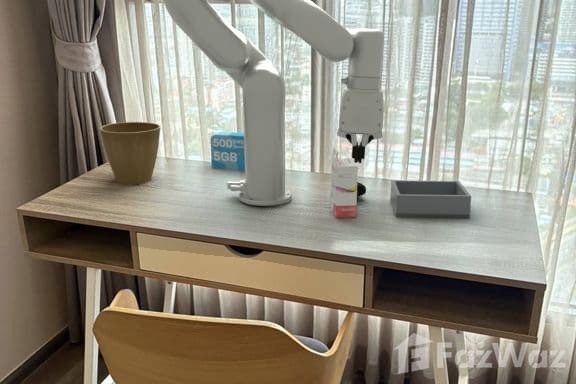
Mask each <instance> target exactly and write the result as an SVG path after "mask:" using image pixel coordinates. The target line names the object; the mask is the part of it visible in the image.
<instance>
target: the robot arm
mask: <svg viewBox="0 0 576 384" xmlns="http://www.w3.org/2000/svg"><path fill="white" fill-rule="evenodd" d="M247 1H248V2H249V3H251V4H252V5H253V6H255V7H256V8H257V9H258V10H260V11H261V12H262V13H263V14H264V15H266V16H267V17H268V18H269V19H271V20H272V21H273V22H275V23H276V24H278V25H280V26H281V27H283V28H285V29H286V30H289V31H290V32H291V33H293V34H294V35H296V36H297V37H299V38H300V39H301V40H302V41H303V42H304V43H306V44H308V46H310V47H311V48H312V49H313V50H314V51H317V54H318V55H319V56H321V57H322V58H323V59H326V60H327V61H329V62H332V63H340V62H344V61H345V60H347V59H348V66H347V76H346V77H341V79H340V84H341V85H345V86H346V88H344V89H343V91H342V94H341V99H340V100H341V102H340V106H339V117H338V129H337V130H336V131H337V132H336V135H337V137H340V138H343V139H347V141H348V142H349V143H350V144H351V146H352V147H351V158H352V159H353V161H354V162H355V163H356V164H357V163H359V164H362V160H365V157H366V156H365V155H366V147H367V145H369V144H370V143H371V142H372V141H375V140H380V139H383V127H384V115H385V114H384V111H385V107H384V103H385V102H384V91H383V90H380V89H381V88H380V87H381V78H382V77H381V75H382V66H383V65H382V64H383V51H384V37H385V35H384V32H383V31H382V30H381V29H376V28H355V29H353V28H352V29H351V28H346V27H344V26H343V25H342V24H341V23H340V22H339V21H337V20H336V19H335V18H333V17H332V16H331V15H330V14H328V13H327V12H326V11H325V10H323V9H322V8H321V7H319V6H318V5H317V4H315V3H314V1H312V0H247ZM162 2H163V3H164V6H165V9H166V11H167V13H168V14H169V16H170V17H171V19H172V20H173V22H174V23H175V24H176V25H177V27H178V28H179V29H180V30H181V31H182V32H184V33H183V34H185V35H186V36H187V37H188V38H189V39H190V40H191V41H192V43H194V45H195V46H196V47H197V48H199V50H200V51H201V52H202V53H203V54H204V55H205V56H206V57H207V58H208V59H209V60H210V61H211V63H212V64H213V65H214V66H215V67H216V68H217V69H218V70H220V71H221V72H225V73H226V74H227V75H228V76H229V77H230V79H232V80H233V82H234V83H236V84H237V86H239V87H240V88H241V89H242V91H241V92H242V109H243V110H242V111H243V113H242V114H243V133H244V148H245V171H244V177H245V178H244V179H243V180H242V179H241V180H240V181H234V180H233V181H232V180H231V181H230V180H228V181H227V183H226V188H227V190H230V191H231V192H237V191H239V192H240V193H239V194H238V195H239V196H238V199H239V201H240V202H242V203H244V204H246V205H251V206H259V207H261V206H263V207H264V206H265V207H267V206H268V207H269V206H278V205H283V204H285V203H288V202H290V201H291V200H292V195H293V194H292V192H291V191H290V190H288V189H286V133H285V132H286V129H285V127H286V123H285V122H286V121H285V119H286V118H285V117H286V115H285V114H286V113H285V112H286V83H285V79H284V76H283V75H282V73H281V71H280V70H279V68H277V67H276V66H275V65H274V64H273V62H272V61H270V60H269V59H268V57H267V56H266V55H265V54H264V53H263V52H262V51H261V50H260V49H259V48H258V47H257V46H256V45H255V44H254V43H253V42H252V41H251V40H250V39H249V38H248V37H247V36H246V34H244V33H242V32H241V31H239V30H237V29H235V28H234V27H233V26H232V25H231V24H230V23H229V22H228V21H227V20H226V19H225V18H224V17H223V15H221V14H220V13H219V11H217V9H216V8H215V7H214V6H213V5H212V4H211V3H210V2H209V1H208V0H163V1H162ZM357 135H362V138H361V140H360V142H359V143H358V141H357V139H358V138H357Z"/></svg>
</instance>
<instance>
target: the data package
mask: <svg viewBox="0 0 576 384" xmlns="http://www.w3.org/2000/svg"><path fill="white" fill-rule="evenodd" d="M210 159H211V160H210V161H211V164H210V165H211V168H212V169H213V168H214V169H222V170H230V171H231V170H234V171H240V172H241V171H242V172H245V148H244V132H234V131H233V132H232V131H219V132H216V133H215V134H212V136H211V137H210Z"/></svg>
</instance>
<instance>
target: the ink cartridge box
mask: <svg viewBox="0 0 576 384" xmlns="http://www.w3.org/2000/svg"><path fill="white" fill-rule="evenodd" d="M331 153H332V154H331V161H330V162H331V164H330V166H331V168H330V199H329V200H330V202H329V203H330V205H329V206H330V209H331V211H332V213H333V215H334V217H335V218H336V219H337V218H340V219H341V218H342V219H343V218H357V207H358V206H357V201H358V197H357V182H358V175H359V173H358V171H359V166H358V164H357V163H355V162H354V159H353V158H352V157H343V158H339V151H338V150H337V148H336V146H334V145H333V146H332V152H331Z"/></svg>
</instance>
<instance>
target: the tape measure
mask: <svg viewBox="0 0 576 384" xmlns="http://www.w3.org/2000/svg"><path fill="white" fill-rule="evenodd" d="M366 193H367V188H366V186H365V185H364V184H363V183H360V182H359V181H357V198H359V197H362V196H364V195H366Z"/></svg>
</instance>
